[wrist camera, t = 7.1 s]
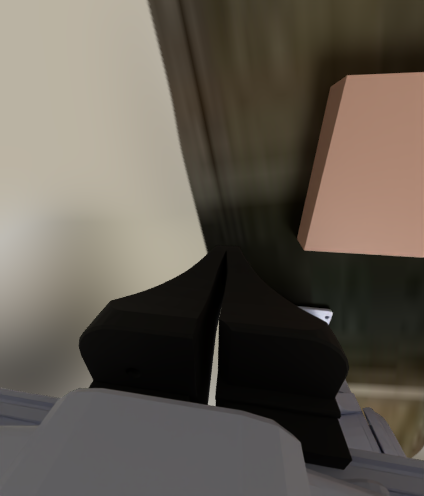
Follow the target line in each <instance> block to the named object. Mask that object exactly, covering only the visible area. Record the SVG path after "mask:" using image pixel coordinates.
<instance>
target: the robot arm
mask: <svg viewBox="0 0 424 496" xmlns="http://www.w3.org/2000/svg"><path fill="white" fill-rule="evenodd" d="M222 303H223V304H222ZM221 307H222V308H221ZM220 312H221V313H220ZM332 315H333V313H332V311H331V310H330V309H324V308H313V307H302V306H296V305H294V304H293V303H291V302H290V301H288V300H287V299H285V298H284V297H282V296H281V295H280V294H278V293H277V292H276V291H274V290H273V289H272V288H271V287H269V286H268V285H267V284H266V283H265V282H264V281H263V280H262V279H261V278H260V277H259V276H258V275H257V274H256V272H255V271H254V270H253V269H252V267H251V266H250V264H249V263H248V261H247V260H246V258H245V257H244V255H243V253H242V251H241V248H240V247H239V246H223V245H216V246H215V247H214V248H213V249H212V250H211V251H210V252H209V253H208V254H207V255H206V256H205V257H204V258H203V259H201V260H200V261H199V262H198V263H197V264H195V265H194V266H193V267H192V268H190V269H189V270H187V271H186V272H184V273H182V274H181V275H179V276H177V277H176V278H173V279H172V280H169V281H167V282H165V283H163V284H161V285H159V286H156V287H154V288H151V289H148V290H146V291H143V292H140V293H137V294H134V295H130V296H126V297H123V298H119V299H115V300H112V301H110V302H109V303H108V304H107V305H106V307H105V308H104V309H103V310H102V311H101V312H100V313H99V315H98V316H97V317H96V318H95V319H94V321H93V322H92V323H91V324H90V325H89V326H88V327H87V329H86V330H85V331H84V332H83V334H82V335H81V337H80V339H79V349H80V352H81V356H82V358H83V360H84V362H85V364H86V366H87V368H88V370H89V372H90V374H91V376H92V378H93V382H92V383H91V385H90V387H89V388H78V389H76V390H73V391H70V392H69V393H67V394H66V395H64V396H63V397H62V398H56V397H50V396H45V395H38V394H33V393H27V392H21V391H16V390H9V389H4V388H0V496H424V461H423V460H418V459H412V458H407V457H406V456H405V454H404V452H403V450H402V448H401V446H400V444H399V443H398V441H397V439H396V437H395V435H394V434H393V432H392V430H391V428H390V427H389V425H388V424H387V422H386V421H385V419H384V418H383V417H382V416H380V415H379V414H377V413H376V412H374V411H373V409H371V408H369V407H368V408H363V411H364V414H365V416H366V419H367V421H368V423H367V421H366V419H365V417H364V415H363V413H362V411H361V408H360V406H359V404H358V402H357V400H356V397H355V395H354V394H353V393H351V391H350V389H349V386H348V384H347V382H346V380H345V379H346V377H347V373H348V370H349V365H348V360H347V357H346V355H345V353H344V351H343V349H342V347H341V345H340V343H339V342H338V340H337V338H336V336H335V335H334V333H333V332H332V330H331V328H330V327H329V322H330V320H331V317H332ZM219 316H220V317H219ZM218 321H219V347H218V376H217V386H216V396H215V399H216V406H210V405H208V398H209V389H210V380H211V372H212V363H213V354H214V345H215V337H216V331H217V325H218ZM368 424H369V425H368Z"/></svg>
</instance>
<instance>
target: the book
mask: <svg viewBox="0 0 424 496" xmlns="http://www.w3.org/2000/svg"><path fill="white" fill-rule="evenodd" d="M297 239H298V241H299V243H300V244H301V246H302V248H303V249H304V250H307V251H324V252H340V253H357V254H374V255H390V256H407V257H424V72H415V73H391V74H367V75H347V76H346V77H344V78H343V79H341V80H340V81H338V82H337V83H335V84H334V85H332V86H331V87H330V91H329V96H328V100H327V105H326V109H325V114H324V118H323V123H322V128H321V132H320V137H319V141H318V146H317V150H316V155H315V159H314V164H313V168H312V173H311V177H310V182H309V186H308V191H307V196H306V200H305V205H304V209H303V214H302V218H301V223H300V227H299V232H298V236H297Z"/></svg>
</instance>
